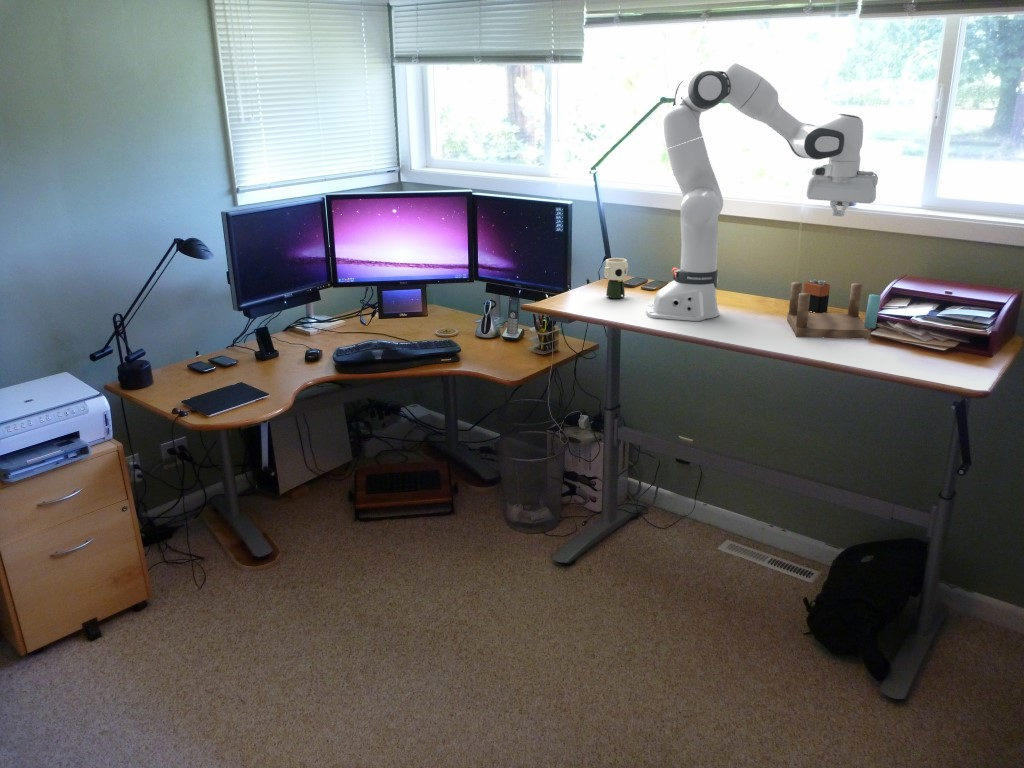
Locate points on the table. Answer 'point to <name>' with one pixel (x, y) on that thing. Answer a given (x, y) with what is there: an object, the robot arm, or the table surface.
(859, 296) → the stool
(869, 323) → the folding leg
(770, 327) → the table surface
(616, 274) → the character mug
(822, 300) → the battery
